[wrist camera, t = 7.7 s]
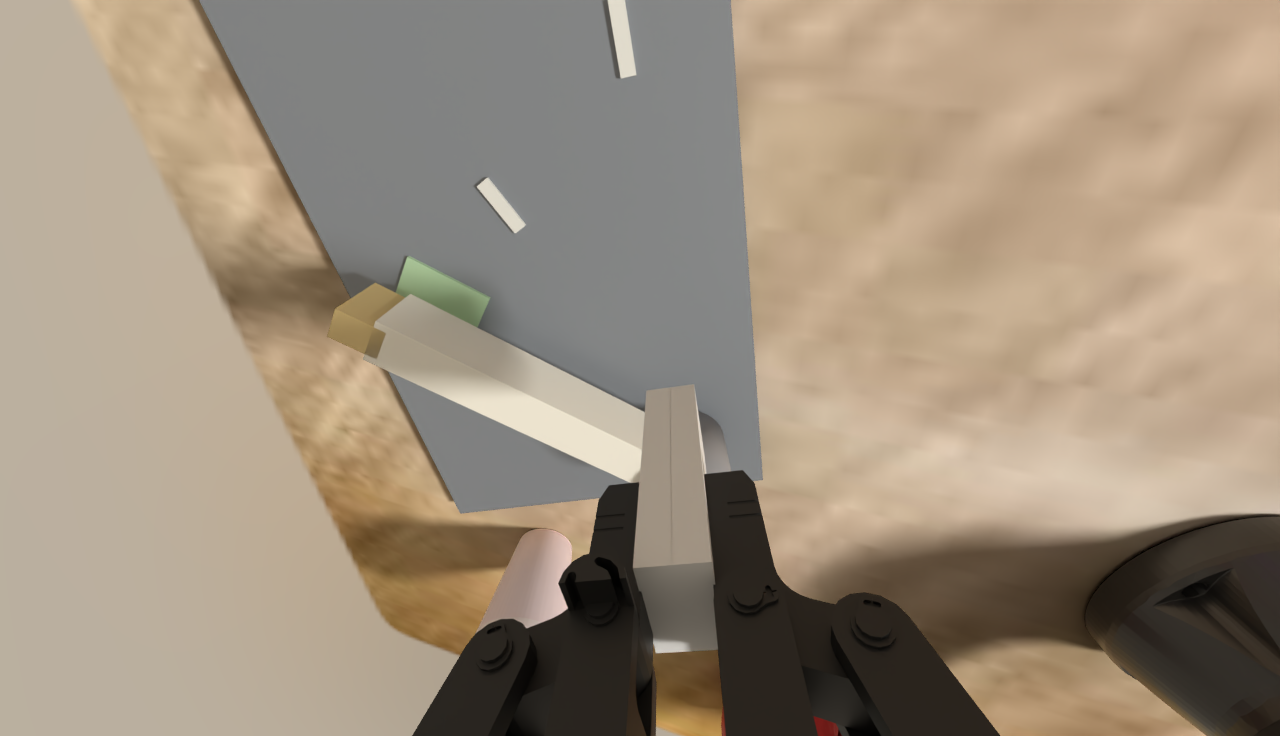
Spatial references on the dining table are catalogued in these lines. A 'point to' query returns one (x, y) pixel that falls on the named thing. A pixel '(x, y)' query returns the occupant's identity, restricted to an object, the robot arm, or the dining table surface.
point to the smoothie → (532, 580)
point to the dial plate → (525, 197)
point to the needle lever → (502, 381)
